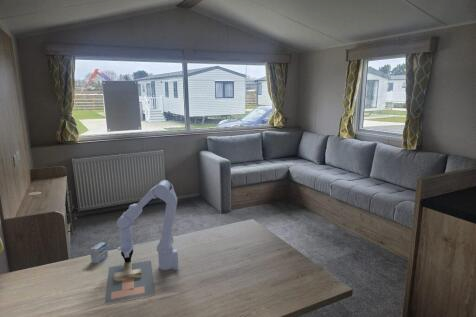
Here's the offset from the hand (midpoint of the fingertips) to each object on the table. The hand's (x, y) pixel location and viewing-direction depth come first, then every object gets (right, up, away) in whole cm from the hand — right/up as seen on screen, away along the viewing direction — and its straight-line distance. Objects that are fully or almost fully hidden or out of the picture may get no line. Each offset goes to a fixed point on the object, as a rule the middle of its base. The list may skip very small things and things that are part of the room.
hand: (128, 263), depth 155 cm
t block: (+2, -2, -7) cm, 8 cm away
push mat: (+5, -4, -11) cm, 13 cm away
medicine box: (-17, -1, +7) cm, 18 cm away
